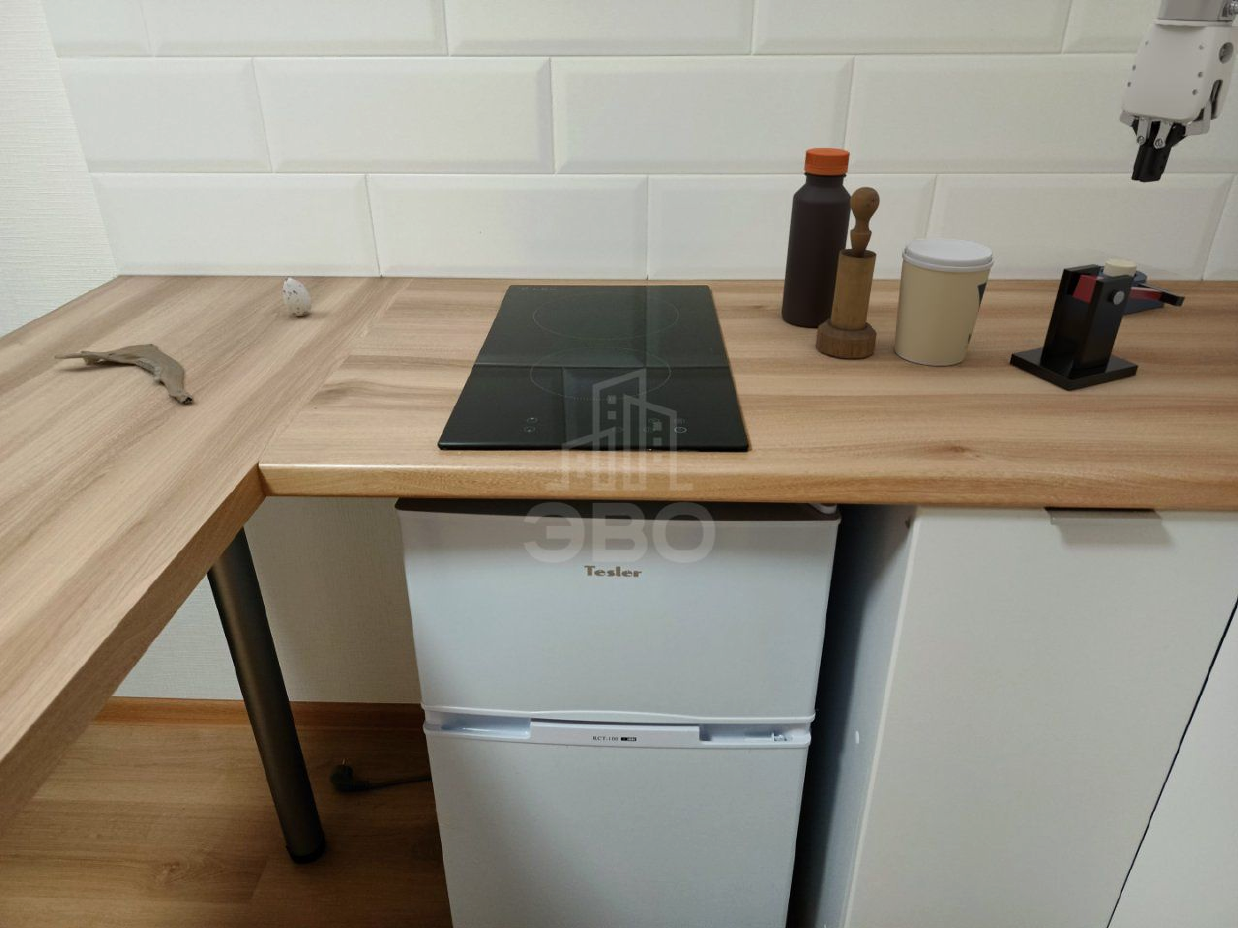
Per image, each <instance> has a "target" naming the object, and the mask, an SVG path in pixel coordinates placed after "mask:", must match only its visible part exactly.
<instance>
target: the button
mask: <svg viewBox="0 0 1238 928" xmlns="http://www.w3.org/2000/svg"><path fill="white" fill-rule="evenodd" d="M1103 266H1104V270H1103V274H1105V275H1108V276H1112V277H1114V276H1120V275H1126V274H1127V275H1130V276H1134V274H1135V271H1136V270H1137V267H1138V264H1137V263H1136V262H1134V261H1132V260H1128V259H1121V258H1110V259H1109V258H1108V259H1106V260H1105V263H1104V265H1103Z"/></svg>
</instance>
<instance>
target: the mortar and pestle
mask: <svg viewBox="0 0 1238 928" xmlns="http://www.w3.org/2000/svg"><path fill="white" fill-rule="evenodd" d="M880 202H881V198H880V194H879V193H878V191H877V190H876V189H875V188H873V187H870V186H862V187H858V188H857V189H856V190H855V191H854V192H853V193H852V195H851V200H850V206H851V212H852V215H853V217H854V219H855V223H854V226H853V228H851V229H850V230H849V237H850V245H851V248H846V249H844V250H841V251H840V253H839V261H838V270H837V278H836V286H835V293H834V300H833V308H832V315H831V318H830V319H828V320H826V321H825V322H824V323H822V324H820V325H819V327H817V331H816V338H815V347H816V349H817V350H818V351H819V352H821V353H823V354H825V355H828V356H833V357H836V358H841V359H863V358H867V357H870V356H871V355H873V354H874V352H875V349H876V342H877V341H876V340H877V331H876V329H875V328H873V327H872V325H871V324H870V323H869V322H867V320H868V313H869V305H870V298H871V292H872V285H873V279H874V272H875V267H876V261H877V253H876V252H875V251H872V250H869V249H867V248H868V245H869V243H870V241H871V237H872V235H873V231H872V230H871V229H870V221H871V219H872V217H873V216H874V215H875V213H876V211H877V210H878V208H879V206H880Z"/></svg>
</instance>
